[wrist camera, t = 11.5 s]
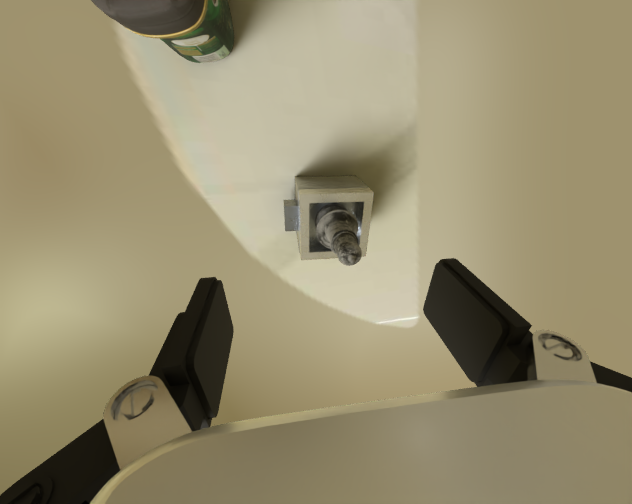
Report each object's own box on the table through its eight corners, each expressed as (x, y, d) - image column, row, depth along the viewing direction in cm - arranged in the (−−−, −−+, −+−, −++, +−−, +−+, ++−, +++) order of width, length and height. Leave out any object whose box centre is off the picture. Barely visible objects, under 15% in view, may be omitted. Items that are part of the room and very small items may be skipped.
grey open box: (282, 176, 40) (283, 194, 32) (355, 175, 42) (374, 192, 33) (286, 248, 47) (288, 277, 38) (349, 244, 48) (363, 272, 40)
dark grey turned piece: (324, 244, 39) (341, 292, 29) (305, 214, 36) (317, 255, 26) (357, 226, 38) (387, 269, 28) (341, 193, 35) (368, 228, 25)
